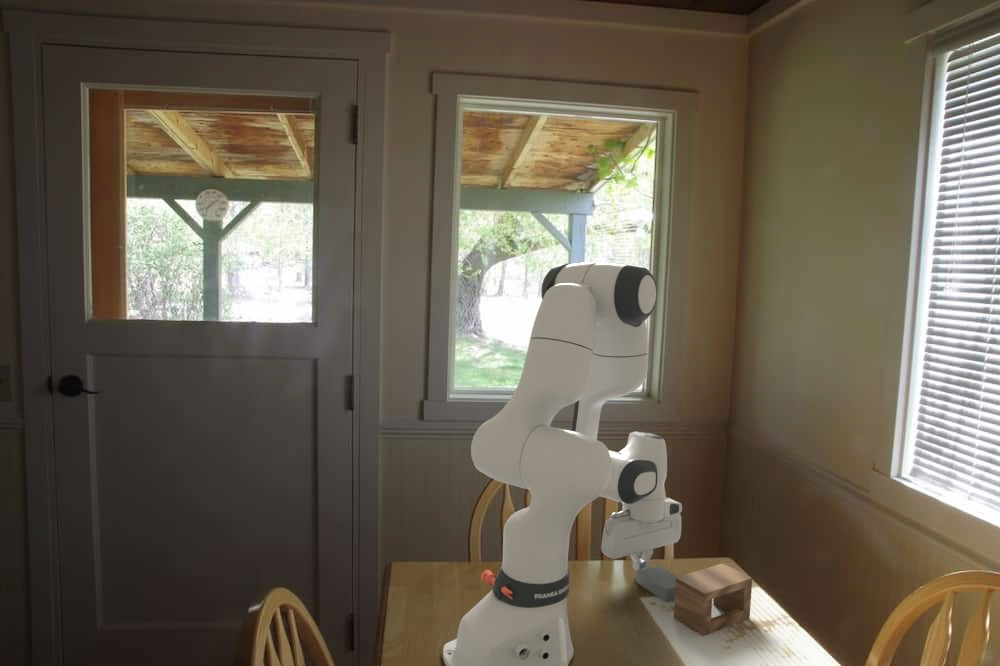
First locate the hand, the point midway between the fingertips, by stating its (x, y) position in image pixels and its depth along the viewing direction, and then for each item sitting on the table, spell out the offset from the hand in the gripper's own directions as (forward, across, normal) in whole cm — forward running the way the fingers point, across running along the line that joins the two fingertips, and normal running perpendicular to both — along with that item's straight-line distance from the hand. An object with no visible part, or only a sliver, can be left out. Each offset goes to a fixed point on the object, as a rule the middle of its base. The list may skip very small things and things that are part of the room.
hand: (640, 568), depth 139 cm
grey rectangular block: (+2, 0, -6) cm, 7 cm away
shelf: (+2, 0, -19) cm, 19 cm away
